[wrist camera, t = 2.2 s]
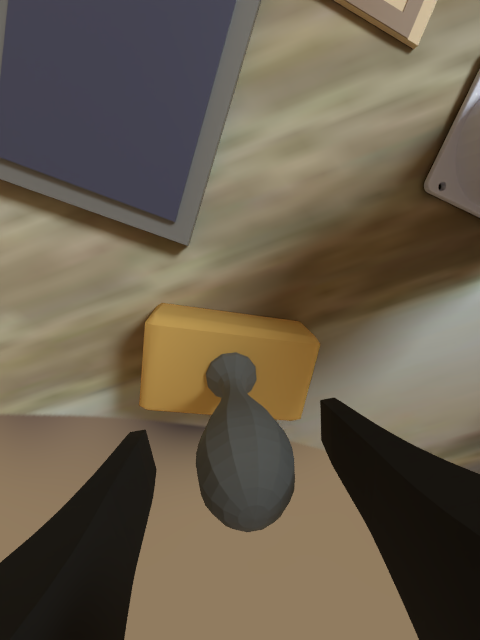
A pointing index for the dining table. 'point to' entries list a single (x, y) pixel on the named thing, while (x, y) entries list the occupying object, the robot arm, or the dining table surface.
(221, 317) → the rubber stamp
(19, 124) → the ink pad
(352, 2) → the tan framed board
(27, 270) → the dining table surface
